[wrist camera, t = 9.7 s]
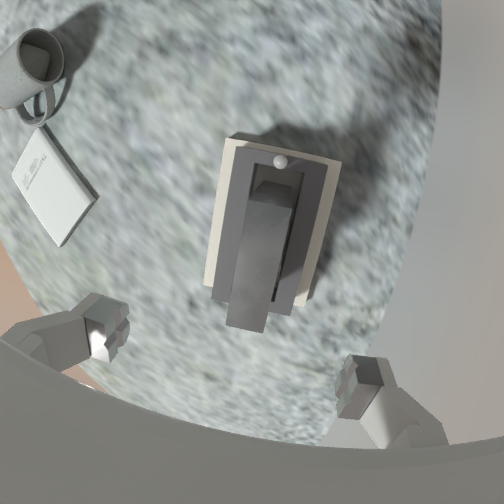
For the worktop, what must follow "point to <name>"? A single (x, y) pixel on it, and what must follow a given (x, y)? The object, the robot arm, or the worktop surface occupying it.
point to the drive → (259, 255)
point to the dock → (300, 225)
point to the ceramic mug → (30, 72)
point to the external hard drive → (51, 187)
